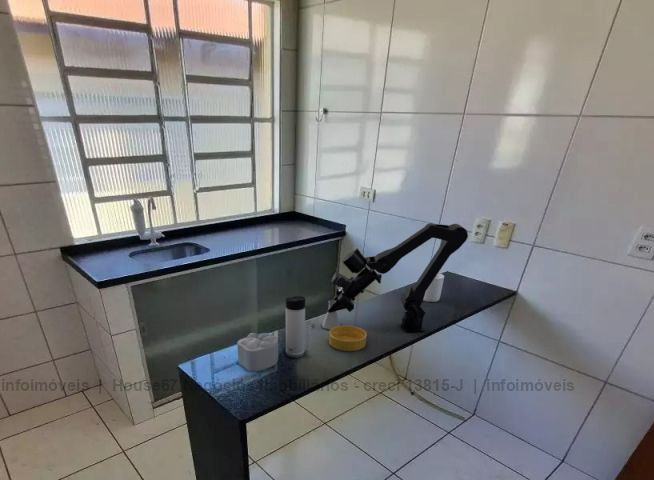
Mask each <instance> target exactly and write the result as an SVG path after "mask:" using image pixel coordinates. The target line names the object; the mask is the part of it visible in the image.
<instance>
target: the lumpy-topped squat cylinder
mask: <svg viewBox="0 0 654 480" xmlns="http://www.w3.org/2000/svg"><path fill="white" fill-rule="evenodd" d="M236 345H237V346H236V347H237V359H238V360H237V361H238V364H239V365H240V366H242V367H243V368H245V369H246V370H247V371H249V372H260V371H263V370H266V369H268V368H271V367H273V366H275V365H276V364H277V362H278V361H279V339H278V336H276V335H274V334H269V333H266V332H262V333H256V332H250V333H249V334H248V335H247V336H246V337H244V338H240V339H239V340H238V341H237V343H236Z"/></svg>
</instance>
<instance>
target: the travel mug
mask: <svg viewBox="0 0 654 480" xmlns="http://www.w3.org/2000/svg"><path fill="white" fill-rule="evenodd" d="M305 339H306V297H304V296H303V295H302V296H299V295H296V296H295V295H294V296H291V297H286V298H285V354H286V356H287V357H289V358H297V359H298V358H301V357H303V356H305V349H306V348H305V347H306V346H305V344H306V343H305V341H306V340H305Z"/></svg>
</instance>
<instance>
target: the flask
mask: <svg viewBox="0 0 654 480" xmlns="http://www.w3.org/2000/svg"><path fill="white" fill-rule="evenodd" d="M334 302H335V300H333V299H332V300H331V299H329V300H328V301H327V303H328V306H329V308H330V307H331V306H332V305H333V304H334ZM329 308H328V307H327V312H326V315H325V317H324V320H323V322H322V323H321V326H322V328H323V329H326V330H329V331H330V330H331V329H332V328H334V327H337V326H341V323H340V320H339V316H338V313H337V311H335V312H331V313H329V312H328V310H329Z"/></svg>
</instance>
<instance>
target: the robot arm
mask: <svg viewBox="0 0 654 480" xmlns="http://www.w3.org/2000/svg"><path fill="white" fill-rule="evenodd" d="M468 234H469V232H468V230H467V229H466V228H465V227H464V226H462V225H461V224H459V223H452V224H449V225H448V224H441V223H439V224H437V223H432V222H429V223H427V224H426V225H424V226H423V227H422V228H421V229H419V230H418V231H416V232H415V233H413V234H412V235H410V236H409V237H407V238H406V239H405V240H403V241H402V242H401V243H398V244H397V245H396V246H394V247H391V248H388V249H385V250H383V251H381V252H379V253H377V254H376V255H372V256H366V257H365V256H364V254H363V253H361V251H360V249H359V248H358V247H356V248H354V250H352V251H350V252H348V253H347V254H346V255H345V256H344V257H343V258H342V260H341V262H342V264H343V265H344V266H345V267H346V268H347V269H348V270H349V271H350V272H351V273H352V274H356V275H355V276H351V277H347V276H345V275H343V274H342V273H339V272H336V271H335V272H334V274H333V276H332V277H331V284H332V285H334V286H336V287H337V288H335V289H336V290H335V296H334V297H333V299H332V300H335V302H334V304H333V305H332V306H331V307H330V308H329V305H328V306H327V312H329V313H331V312H335V311H336V312H337V311H342V310H347V311H348V312H349V313H352V311H353V310H354V309H355V302H354V301H355V300H356V297H357V296H359V295H360V294H363V293H365V289H367V288H368V287H369V286H370V285H371V284H372V283H374V282H375V281H376V282H377V283H378V284H379V285H380V284H381V283H382V278H383V275H384V274H387V273H389V272H390V271H391V270H392V269H393V268H394V267H395V266H396V265H397V264H398V263H399V261H401V260H402V258H404V257H406V256H407V255H408V254H410V253H412V252H413V251H414V250H416V249H417V248H419V247H420V246H422V245H424V244H425V243H426V242H428V241H430V240H431V239H438V240H440V244H439V247H438V249H437V250H436V252H435V253H434V254H433V256H432V258H431V259H430V261H429V262H428V264H427V266H426V267H425V268H424V270H423V272H422V273H421V274H420V276H419V277H418V279H417V281H416V282H415V283H414V284H413V285H411V286H410V285H407V286H406V287H405V289H404V291H403V292H402V293H401V299H400V301H401V304H402V306H403V309H404V310H405V311H404V313H403V316H402V319H401V324H400V326H401V328H402V329H403V330H404V332H405V333H421V332H424V329H423V328H422V327H423V321H424V317H425V315H426V311H425V310H424V307H423V305H422V304H423V302H424V301H423V299H424V295H425V292H426V290H427V289H428V287H429V286H430V284H431V283H432V281H433V280H434V278H435V277H436V275H437V274H438V273H439V272H440V271H441V270H442V268H443V267H444V265H445V264H446V262H447V261H448V259H449V258H450V256H452V255H453V254H454V253H456V252H457V251H458V250H459V249H461V247H462V246H463V245H464V244H465V243H466V242H467V240H468V237H469V235H468ZM328 308H329V310H328Z"/></svg>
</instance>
